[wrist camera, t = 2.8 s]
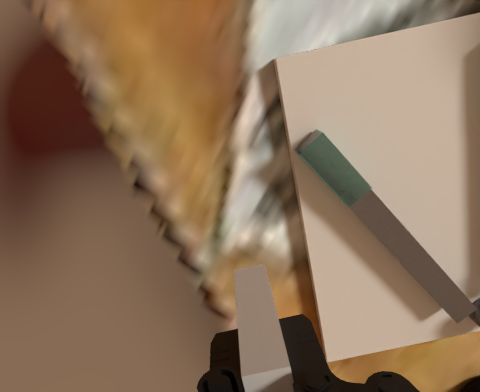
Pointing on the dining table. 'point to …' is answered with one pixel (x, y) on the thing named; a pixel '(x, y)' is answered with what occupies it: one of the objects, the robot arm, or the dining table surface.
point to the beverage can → (472, 386)
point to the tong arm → (382, 222)
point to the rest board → (389, 177)
